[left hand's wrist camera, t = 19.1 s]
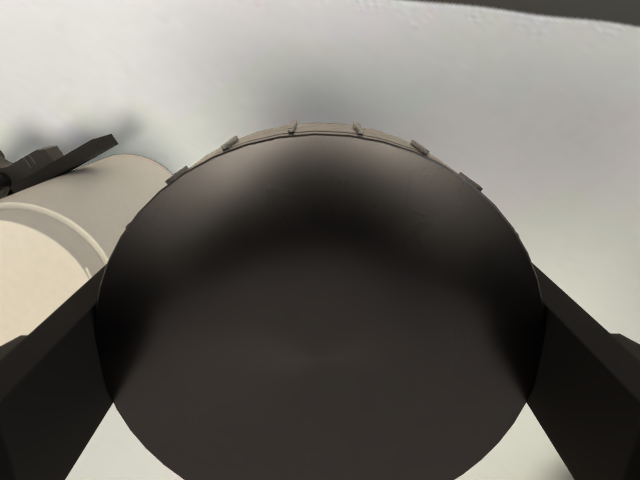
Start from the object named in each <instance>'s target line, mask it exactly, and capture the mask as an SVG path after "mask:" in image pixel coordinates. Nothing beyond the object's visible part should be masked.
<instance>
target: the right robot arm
mask: <svg viewBox="0 0 640 480" xmlns="http://www.w3.org/2000/svg"><path fill="white" fill-rule="evenodd" d="M117 144H118V143H117V141H116V140H115V138H114V137H113V135H112V134H110V135H106V136H103V137H99V138H96V139H92V140H91V141H89V142H87V143H85V144H84V145H82V146H80V147H78V148H77V149H75V150H73V151H71V152H70V153H68V154H66V155H65V156H64V155H63V154H62V152H61V151H60V149H59V148H58V147H57V146H50V147H46V148H42V149H38V150H36V151H34V152H32V153H31V154H29V155H27V156H25V157H24V158H22V159H20V160H19V161H17V162H15V163H10V162H9V161H7V160H6V159H5V157H4V154H3V153H2V152H1V151H0V199H2V198H5V197H7V196H10V195H12V194H15V193H17V192H20V191H22V190H25V189H27V188H30V187H32V186H35V185H37V184H40V183H43V182H45V181H48V180H50V179H53V178H55V177H58V176H60V175H63V174H65V173H68V172H70V171H72V170H73V169H75V168H77V167H79V166H80V165H82V164H84V163H86V162H87V161H89V160H91V159H93V158H95V157H96V156H98V155H100V154H102V153H103V152H105V151H107V150H109V149H110V148H112V147H114V146H116V145H117Z"/></svg>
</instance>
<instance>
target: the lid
mask: <svg viewBox="0 0 640 480" xmlns="http://www.w3.org/2000/svg"><path fill="white" fill-rule="evenodd" d="M165 182H166V183H167V184H168V185H166V186H165V187H164V188H162V189H161V190H160V191H159V192H158V193H157V194H156V195H155V196H154V197H153V198H152V199H151V200H150V201H149V202H148V203H147V204H146V205H145V206H144V207H143V208H142V209H141V210H140V211H139V212H138V213H137V214H136V216H135V217H134V218H133V220H132V221H131V222H130V223H129V224H127V226H126V227H125V228H126V229H125V231H124V232H123V233H122V235H121V236H120V238H119V240H118V242H117V244H116V246H115V248H114V250H113V252H112V254H111V256H110V258H109V260H108V262H107V265H106V268H105V271H104V274H103V277H102V281H101V284H100V287H99V293H98V299H97V305H96V312H95V340H96V345H97V350H98V355H99V360H100V365H101V369H102V374H103V378H104V381H105V384H106V387H107V389H108V392H109V394H110V396H111V398H112V400H113V402H114V404H115V406H116V408H117V410H118V412H119V413H120V415H121V416H122V418H123V419H124V421H125V422H126V424H127V426H128V427H129V429H130V430H131V431H132V432H133V434H134V435H135V436H136V437H137V438H138V439H139V441H140V442H141V443H142V444H143V445H144V446H145V448H146V449H147V450H148V451H150V452H151V453H152V454H153V455H154V456H155V457H156V458H157V459H158V460H159V461H160V462H161V463H163V464H164V465H165V466H166V467H168V468H169V469H170V470H172V471H173V472H175V473H176V474H177V475H179V476H180V477H181V478H183V479H184V480H455V479H456V478H458V477H459V476H461V475H463V474H464V473H465V472H466V471H468V470H469V469H470V468H471V467H473V466H474V465H475V464H477V463H478V462H479V461H480V460H482V459H483V458H484V457H485V456H486V455H487V454H488V453H489V452H490V451H491V450H492V449H493V448H494V447H495V446H496V445H497V444H498V443H499V441H500V440H501V439H502V438H503V436H504V435H505V434H506V433H507V431H508V430H509V429H510V427H511V426H512V425H513V424H514V422H515V420H516V419H517V417H518V415H519V414H520V412H521V410H522V409H523V407H524V405H525V403H526V402H527V399H528V397H529V394H530V392H531V390H532V387H533V385H534V383H535V380H536V376H537V372H538V367H539V362H540V358H541V353H542V347H543V341H544V331H545V329H544V310H543V301H542V296H541V291H540V287H539V282H538V278H537V275H536V272H535V270H534V267H533V265H532V262H531V259H530V257H529V254H528V252H527V250H526V249H525V247H524V245H523V243H522V242H521V240H520V238H519V235H518V233H517V232H516V231H515V230H514V228H513V227H512V225H511V224H510V223H509V222H508V220H507V219H506V218H505V217H504V215H503V214H502V213H501V212H500V211H499V209H498V208H497V207H496V206H495V204H493V203H492V202H491V201H490V200H489V199H488V198H487V197H486V196H485V195H484V194H482V193H481V192H480V191H481V190H482V189H483V188H481V187H480V186H479V185H478V184H476V183H475V182H474V181H472V180H471V179H469V178H468V177H467V176H465V175H464V174H462V173H461V172H460V173H459V174H458V173H457V172H455V171H454V170H453V169H451V168H450V167H449V166H447V165H446V164H444V163H443V162H441V161H440V160H438V159H437V158H435V157H434V156H432V155H431V154H429V151H428V150H427V149H425V148H424V147H422V146H421V145H420V144H418V143H417V142H416V141H414V140H412V141H411V143H409V142H407V141H405V140H402V139H400V138H398V137H395V136H392V135H388V134H385V133H382V132H379V131H376V130H373V129H368V128H363V127H361V126H360V124H359V123H357V122H354V124H353V126H352V125H346V124H330V123H307V124H297V121H292V122H291V124H290V125H286V126H281V127H277V128H272V129H268V130H264V131H259V132H256V133H253V134H251V135H248V136H245V137H243V138H240V139H238V137H237V136H235V137H233V138H231V139H230V140H229V141H228V142H226V143H225V144H224V145H222V146H221V148H219V149H217V150H215V151H214V152H212V153H210V154H208V155H206V156H205V157H204V158H202V159H201V160H200V161H198V162H197V163H196V164H194V165H193V166H192V167H190V168H188V167H187V166H185V167H184V168H182V169H181V170H180V171H178V172H177V173H175V174H174V175H173V176H171V177H170V178H168V179H167V180H166V181H165Z"/></svg>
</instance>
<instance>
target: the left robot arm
mask: <svg viewBox="0 0 640 480" xmlns="http://www.w3.org/2000/svg"><path fill="white" fill-rule="evenodd" d="M106 265H107V264H106ZM106 265H105V266H104V267H103V268H101V269H100V270H99V271H98V272H97V273H96V274H95V275H94V276H93V277H92V278H90V279H89V280H88V281H87V282H86V283H85V284H84V285H83V286H82V287H80V288H79V289H78V290H77V291H76V292H75V293H74V294H73V295H72V296H71V297H69V298H68V299H67V300H66V301H65V302H64V303H63V304H62V305H61V306H60V307H58V308H57V309H56V310H55V311H54V312H53V313H52V314H51V315H50V316H48V317H47V318H46V319H45V320H44V321H43V322H42V323H41V324H40V325H39V326H37V327H36V328H35V329H34V330H33V331H32V332H31V333H30V334H29V335H20V336H18V337H16V338H14V339H13V340H11V341H9V342H7V343H5V344H3V345H1V346H0V480H65V479H66V477H67V476H68V474H69V472H70V471H71V469H72V468H73V466H74V464H75V463H76V461H77V460H78V458H79V456H80V455H81V453H82V452H83V450H84V448H85V447H86V445H87V444H88V442H89V440H90V439H91V437H92V436H93V434H94V432H95V431H96V429H97V428H98V426H99V424H100V423H101V421H102V419H103V418H104V416H105V415H106V413H107V411H108V410H109V408H110V407H111V405H112V403H113V400H112V398H111V396H110V394H109V392H108V389H107V387H106V384H105V381H104V378H103V374H102V369H101V365H100V360H99V355H98V350H97V345H96V340H95V312H96V305H97V299H98V293H99V287H100V284H101V281H102V277H103V274H104V271H105V268H106ZM532 265H533V267H534V270H535V272H536V275H537V278H538V282H539V287H540V291H541V296H542V301H543V310H544V329H545V331H544V341H543V347H542V353H541V358H540V362H539V367H538V372H537V376H536V380H535V383H534V385H533V387H532V390H531V392H530V394H529V397H528V399H527V404H528V405H529V407H530V409H531V410H532V412H533V414H534V415H535V417H536V418H537V420H538V422H539V423H540V425H541V426H542V428H543V430H544V431H545V433H546V434H547V436H548V438H549V439H550V441H551V442H552V444H553V446H554V447H555V449H556V450H557V452H558V454H559V455H560V457H561V459H562V460H563V462H564V463H565V465H566V467H567V468H568V470H569V471H570V473H571V475H572V476H573V478H574V479H575V480H640V344H638V343H636V342H634V341H632V340H630V339H629V338H627V337H625V336H623V335H621V334H610V333H609V332H608V331H607V330H606V329H604V328H603V327H602V326H601V325H600V324H599V323H598V322H597V321H596V320H594V319H593V318H592V317H591V316H590V315H589V314H588V313H587V312H586V311H585V310H583V309H582V308H581V307H580V306H579V305H578V304H577V303H576V302H575V301H574V300H572V299H571V298H570V297H569V296H568V295H567V294H566V293H565V292H564V291H563V290H561V289H560V288H559V287H558V286H557V285H556V284H555V283H554V282H553V281H551V280H550V279H549V278H548V277H547V276H546V275H545V274H544V273H543V272H542V271H540V270H539V269H538V268H537V267H536V266H535V265H534V264H533V263H532Z"/></svg>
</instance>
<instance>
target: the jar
mask: <svg viewBox="0 0 640 480" xmlns="http://www.w3.org/2000/svg"><path fill="white" fill-rule="evenodd" d="M171 176H173V175H172V174H171V173H170V172H169V171H168V170H167V169H165V168H164V167H163V166H161V165H160V164H158V163H156V162H155V161H153V160H150V159H148V158H145V157H142V156H138V155H132V154H118V155H113V156H109V157H106V158H103V159H101V160H98V161H96V162H93V163H91V164H88V165H86V166H83V167H81V168H78V169H75V170H73V171H70V172H68V173H65V174H63V175H60V176H58V177H55V178H53V179H50V180H48V181H45V182H43V183H40V184H37V185H35V186H32V187H30V188H27V189H25V190H22V191H20V192H17V193H15V194H12V195H10V196H7V197H5V198H2V199H0V346H1V345H3V344H5V343H7V342H9V341H11V340H13V339H14V338H16V337H18V336H20V335H29V334H30V333H31V332H32V331H33V330H34V329H35V328H36V327H37V326H39V325H40V324H41V323H42V322H43V321H44V320H45V319H46V318H47V317H48V316H50V315H51V314H52V313H53V312H54V311H55V310H56V309H57V308H58V307H60V306H61V305H62V304H63V303H64V302H65V301H66V300H67V299H68V298H69V297H71V296H72V295H73V294H74V293H75V292H76V291H77V290H78V289H79V288H80V287H82V286H83V285H84V284H85V283H86V282H87V281H88V280H89V279H90V278H92V277H93V276H94V275H95V274H96V273H97V272H98V271H99V270H100V269H101V268H103V267H104V266H105V265H106V264H107V262H108V260H109V258H110V256H111V254H112V252H113V250H114V248H115V246H116V244H117V242H118V240H119V238H120V236H121V235H122V233H123V232H124V231H125V229H126V228H125V227H126V226H127V224H129V223H130V222H131V221H132V220H133V218H134V217H135V216H136V214H137V213H138V212H139V211H140V210H141V209H142V208H143V207H144V206H145V205H146V204H147V203H148V202H149V201H150V200H151V199H152V198H153V197H154V196H155V195H156V194H157V193H158V192H159V191H160V190H161V189H162V188H164V187H165V186H166V185H168V184H167V183H166V182H165V181H166V180H167V179H168V178H170V177H171Z"/></svg>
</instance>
